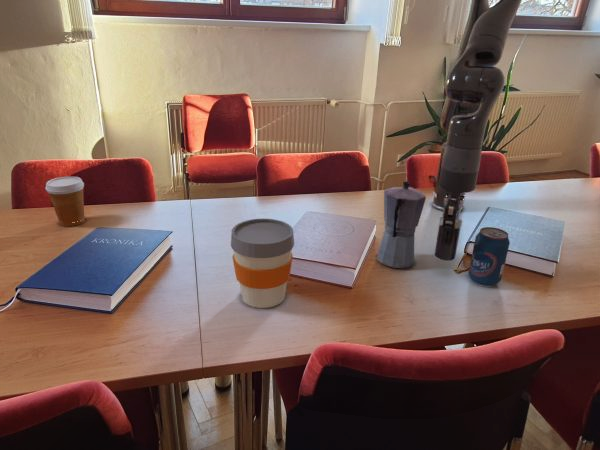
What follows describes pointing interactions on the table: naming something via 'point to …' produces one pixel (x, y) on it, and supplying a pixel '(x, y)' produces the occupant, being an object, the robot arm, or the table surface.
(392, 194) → the moka pot
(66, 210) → the disposable coffee cup
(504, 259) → the soda can
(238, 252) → the reusable coffee cup
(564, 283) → the table surface
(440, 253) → the pepper shaker
